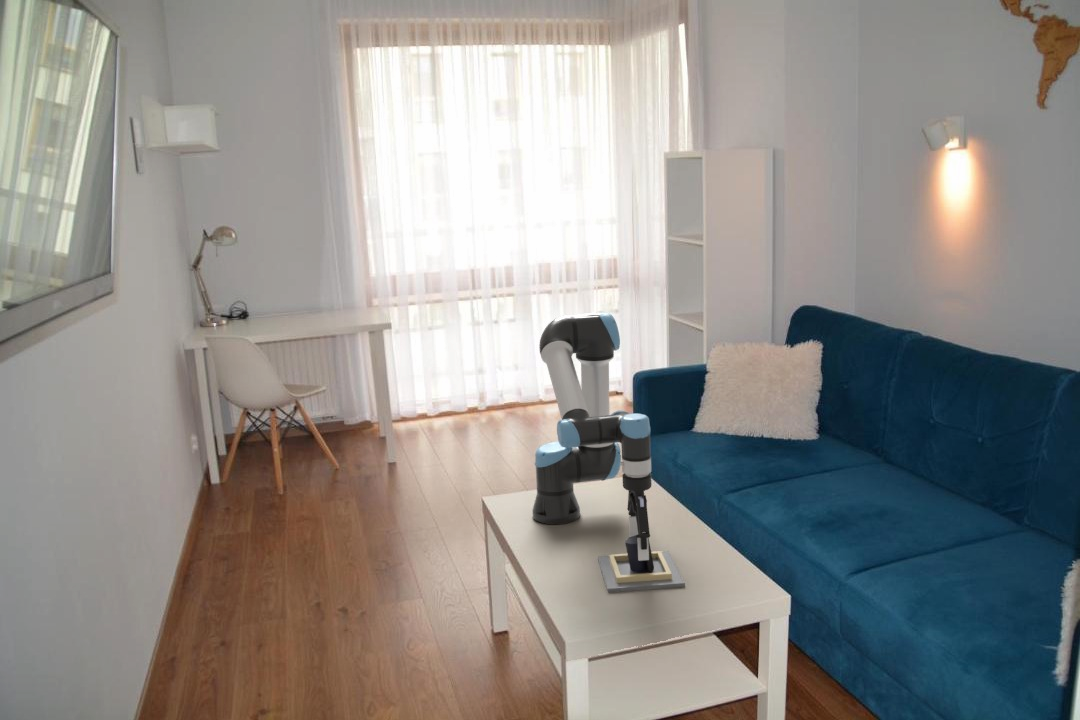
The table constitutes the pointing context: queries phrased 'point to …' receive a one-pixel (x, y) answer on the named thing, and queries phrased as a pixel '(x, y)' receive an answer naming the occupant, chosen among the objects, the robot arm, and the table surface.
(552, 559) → the table surface
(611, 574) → the mount board
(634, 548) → the speaker
